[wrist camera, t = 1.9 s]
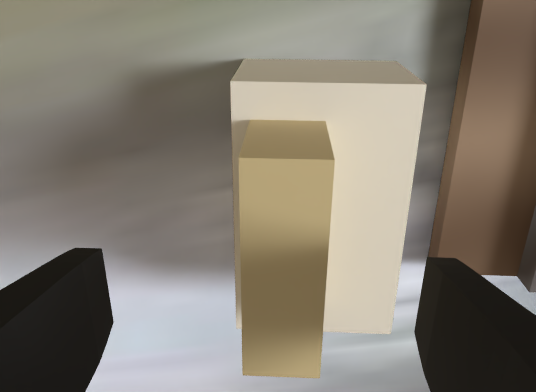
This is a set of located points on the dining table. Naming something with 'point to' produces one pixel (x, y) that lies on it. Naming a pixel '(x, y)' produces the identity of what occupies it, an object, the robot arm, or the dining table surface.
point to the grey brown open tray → (492, 147)
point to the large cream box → (318, 202)
